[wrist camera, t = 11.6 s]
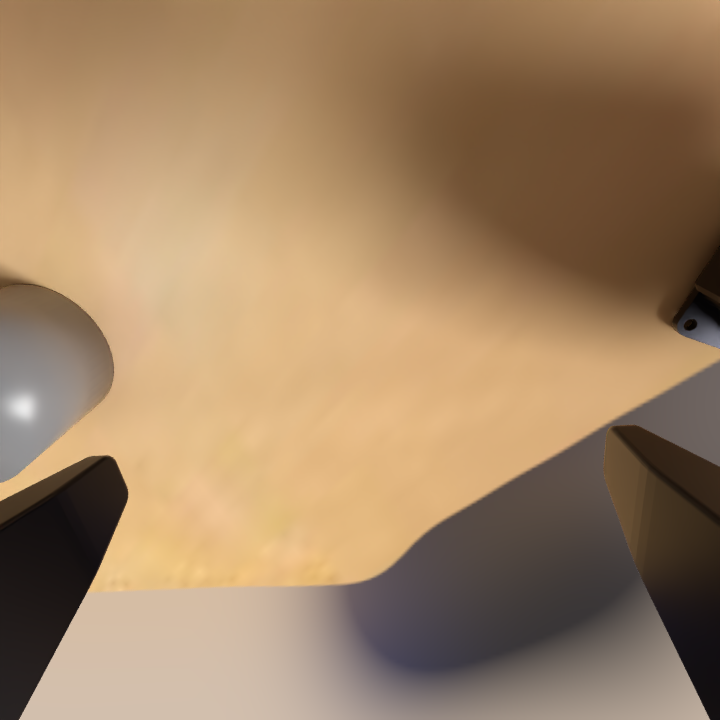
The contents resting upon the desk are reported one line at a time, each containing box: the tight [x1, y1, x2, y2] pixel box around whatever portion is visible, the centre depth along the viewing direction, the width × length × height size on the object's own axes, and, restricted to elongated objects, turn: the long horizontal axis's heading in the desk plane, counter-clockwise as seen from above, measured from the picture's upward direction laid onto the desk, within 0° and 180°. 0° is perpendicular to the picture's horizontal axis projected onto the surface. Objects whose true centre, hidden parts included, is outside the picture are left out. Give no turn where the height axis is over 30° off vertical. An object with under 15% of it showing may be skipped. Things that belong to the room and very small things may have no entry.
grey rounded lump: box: [0, 284, 114, 483], centre depth 21 cm, size 7×7×6 cm
